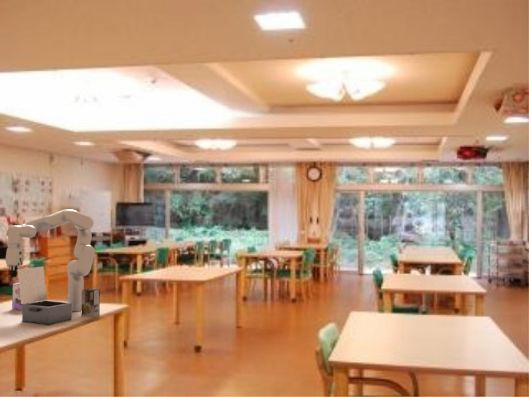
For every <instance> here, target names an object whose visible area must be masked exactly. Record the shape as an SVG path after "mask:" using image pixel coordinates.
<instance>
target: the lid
mask: <svg viewBox="0 0 529 397" xmlns="http://www.w3.org/2000/svg"><path fill="white" fill-rule="evenodd" d="M17 278H18V283H19V288H20V298H21V304H27V303H32V302H40V301H45V300H48V295H47V294H48V293H47V286H46V276H45V267H44V266H37V267H27V268H18V269H17Z"/></svg>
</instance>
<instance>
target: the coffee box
mask: <svg viewBox="0 0 529 397" xmlns="http://www.w3.org/2000/svg"><path fill="white" fill-rule="evenodd" d="M100 295H101V289H100V288H99V289H98V288H84V290H82V311H81V317H88V318H89V317H90V318H96V317H100V314H101V313H100V309H101V308H100V306H101V305H100V304H101V303H100V302H101V296H100Z"/></svg>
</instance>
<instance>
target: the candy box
mask: <svg viewBox="0 0 529 397" xmlns="http://www.w3.org/2000/svg"><path fill="white" fill-rule="evenodd" d="M32 303H34V302H32ZM27 304H28V303H27ZM22 305H23V304H21V298H20V288H19V282H15V283H12V304H11V306H12V307H11V309H12V310H17V311H18V310H19V311H22Z"/></svg>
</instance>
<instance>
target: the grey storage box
mask: <svg viewBox="0 0 529 397" xmlns="http://www.w3.org/2000/svg"><path fill="white" fill-rule="evenodd" d="M21 312H22V313H21V314H22V316H21V318H22V319H21V322H22V323H24V324H25V323H26V324H35V325H42V326H52V325H57V324H62V323H66V322H70V321H73V320H72V319H73V318H72V317H73V311H72V303H68V301H66V302H64V301H58V300H57V301H56V300H55V301H54V300H48V299H47V300H44V301H38V302H34V303H28V304H23V305H22V310H21Z"/></svg>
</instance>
